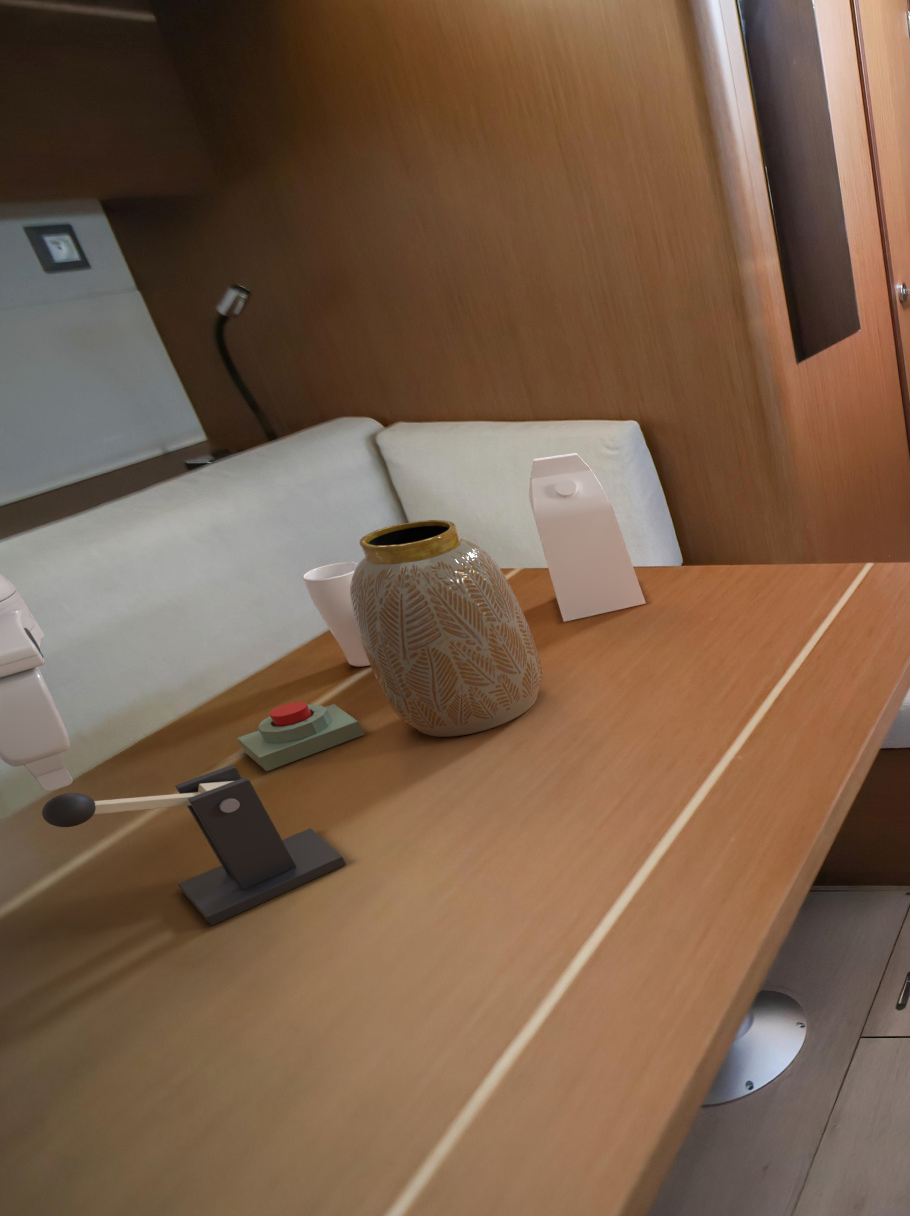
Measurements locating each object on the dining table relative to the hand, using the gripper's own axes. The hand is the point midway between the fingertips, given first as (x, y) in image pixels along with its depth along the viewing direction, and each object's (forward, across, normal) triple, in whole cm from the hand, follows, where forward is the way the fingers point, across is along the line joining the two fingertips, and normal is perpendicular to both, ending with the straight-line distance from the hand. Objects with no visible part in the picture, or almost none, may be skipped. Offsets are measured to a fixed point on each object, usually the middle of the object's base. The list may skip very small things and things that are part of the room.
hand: (44, 768), depth 88 cm
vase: (+20, -19, +37) cm, 46 cm away
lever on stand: (+20, 0, +9) cm, 22 cm away
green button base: (+20, -29, +21) cm, 41 cm away
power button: (+16, -29, +21) cm, 39 cm away
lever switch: (+8, 0, +4) cm, 9 cm away
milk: (+20, -42, +65) cm, 80 cm away
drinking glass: (+20, -49, +35) cm, 63 cm away
